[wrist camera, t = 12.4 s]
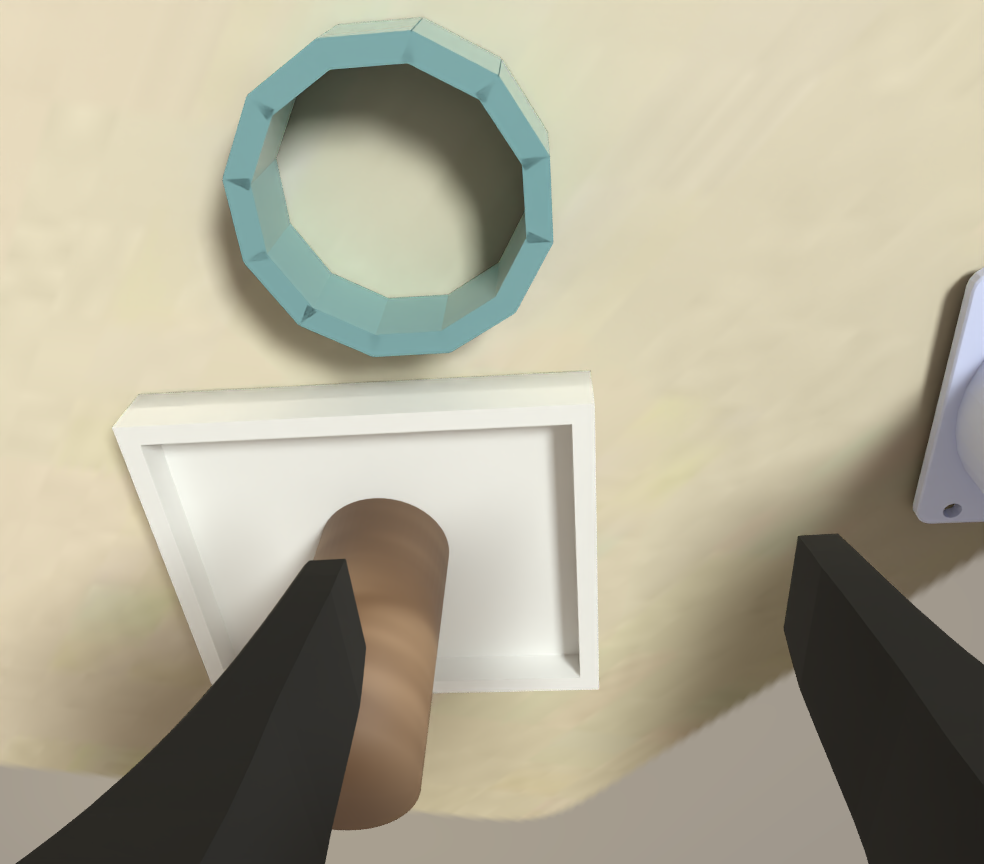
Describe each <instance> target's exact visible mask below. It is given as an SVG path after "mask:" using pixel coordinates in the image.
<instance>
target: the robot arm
mask: <svg viewBox="0 0 984 864" xmlns="http://www.w3.org/2000/svg"><path fill="white" fill-rule="evenodd" d="M954 503H955V505H954V506H953V507H951V508H949V509H945V507H947V506H948V505H950V504H954ZM944 509H945V510H944ZM913 511H914V512H915V514H916V516H917V517H918V519H919V520H920V521H922V522H924V523H930V524H933V523H959V522H984V268H982V269H980V270H979V271H977V272H975V273H974V275H973V276H972V277H971V278H970V279H969V281H968V283H967V285H966V289H965V293H964V297H963V302H962V306H961V310H960V314H959V318H958V322H957V326H956V330H955V334H954V338H953V342H952V347H951V351H950V355H949V359H948V363H947V367H946V371H945V375H944V379H943V383H942V387H941V392H940V396H939V400H938V404H937V408H936V412H935V416H934V420H933V424H932V428H931V432H930V436H929V441H928V445H927V449H926V453H925V457H924V461H923V465H922V469H921V473H920V477H919V481H918V486H917V490H916V494H915V498H914V502H913ZM784 632H785V636H786V640H787V644H788V648H789V652H790V655H791V659H792V663H793V667H794V670H795V674H796V677H797V681H798V684H799V688H800V691H801V693H802V695H803V698H804V700H805V703H806V706H807V708H808V710H809V713H810V716H811V718H812V721H813V723H814V725H815V728H816V730H817V733H818V735H819V738H820V740H821V743H822V745H823V747H824V750H825V752H826V755H827V757H828V759H829V762H830V764H831V767H832V769H833V772H834V774H835V776H836V779H837V781H838V784H839V786H840V789H841V791H842V793H843V796H844V798H845V801H846V803H847V805H848V808H849V810H850V812H851V815H852V818H853V820H854V822H855V825H856V828H857V831H858V834H859V836H860V839H861V842H862V845H863V847H864V850H865V853H866V856H867V860H868V863H869V864H984V665H983V664H982V663H981V662H980V661H978V660H977V659H976V658H975V657H973V656H972V655H971V654H970V653H968V652H967V651H966V650H965V649H963V648H962V647H961V646H960V645H959V644H957V643H956V642H955V641H954V640H953V639H952V638H950V637H949V636H948V635H947V634H946V633H945V632H943V631H942V630H941V629H940V628H939V627H938V626H937V625H935V624H934V623H933V622H932V621H931V620H930V619H929V618H928V617H926V616H925V615H924V614H923V613H922V612H921V611H920V610H918V609H917V608H916V607H915V606H914V605H913V604H912V603H911V602H910V601H909V600H908V599H906V598H905V597H904V596H903V595H902V594H901V593H900V592H899V591H898V590H897V589H896V588H895V587H894V586H893V585H891V584H890V583H889V582H888V581H887V580H886V579H885V578H884V577H883V576H882V575H881V574H880V573H879V572H878V571H877V570H876V569H875V568H874V567H872V566H871V565H870V564H869V563H868V562H867V561H866V560H865V559H864V558H863V557H862V556H861V555H860V554H859V553H858V552H857V551H856V550H855V549H854V548H853V547H851V546H850V545H849V544H848V543H847V542H846V541H845V540H844V539H843V538H842V537H841V536H840V535H839V534H825V535H805V536H798V540H797V547H796V553H795V559H794V566H793V572H792V579H791V585H790V591H789V598H788V604H787V610H786V617H785V623H784ZM365 656H366V644H365V639H364V635H363V631H362V626H361V622H360V618H359V613H358V609H357V605H356V601H355V596H354V592H353V588H352V583H351V579H350V575H349V571H348V566H347V562H346V559H329V560H309V561H308V562H307V563H306V564H305V565H304V566H303V568H302V569H301V570H300V572H299V573H298V575H297V576H296V577H295V579H294V580H293V582H292V583H291V584H290V586H289V587H288V589H287V590H286V591H285V593H284V594H283V596H282V597H281V598H280V600H279V601H278V603H277V604H276V605H275V607H274V608H273V609H272V611H271V612H270V614H269V615H268V616H267V618H266V619H265V620H264V622H263V623H262V624H261V626H260V627H259V628H258V630H257V631H256V632H255V633H254V635H253V636H252V637H251V639H250V640H249V641H248V642H247V644H246V645H245V646H244V648H243V649H242V650H241V651H240V653H239V654H238V655H237V657H236V658H235V659H234V660H233V662H232V663H231V664H230V665H229V666H228V668H227V669H226V670H225V671H224V672H223V673H222V675H221V676H220V677H219V678H218V679H217V680H216V682H215V683H214V684H213V685H212V686H211V687H210V689H209V690H208V691H207V692H206V693H205V694H204V696H203V697H202V698H201V699H200V700H199V701H198V703H197V704H196V705H195V706H194V707H193V708H192V709H191V710H190V711H189V712H188V714H187V715H186V716H185V717H184V718H183V719H182V720H181V721H180V722H179V723H178V724H177V725H176V726H175V727H174V728H173V729H172V730H171V732H170V733H169V734H168V735H167V736H166V737H165V738H164V739H163V740H162V741H161V742H160V743H159V744H158V745H157V746H156V747H155V748H154V749H153V750H152V751H151V752H150V753H148V754H147V755H146V756H145V757H144V758H143V759H142V760H141V761H140V762H139V763H138V764H137V765H136V766H135V767H133V768H132V769H131V770H130V771H129V772H128V773H127V774H126V775H125V776H124V777H123V778H121V779H120V780H119V781H118V782H117V783H116V784H115V785H113V786H112V787H111V788H110V789H109V790H108V791H107V792H105V793H104V794H103V795H102V796H101V797H100V798H99V799H98V800H96V801H95V802H94V803H93V804H92V805H91V806H90V807H88V808H87V809H86V810H85V811H84V812H82V813H81V814H80V815H79V816H77V817H76V818H75V819H73V820H72V821H71V822H70V823H68V824H67V825H66V826H65V827H63V828H62V829H61V830H60V831H59V832H57V833H56V834H55V835H53V836H52V837H51V838H49V839H48V840H47V841H46V842H44V843H43V844H41V845H40V846H39V847H37V848H36V849H35V850H33V851H32V852H31V853H29V854H28V855H27V856H25V857H24V858H23V859H21V860H20V861H19V862H17V863H16V864H325V860H326V855H327V850H328V845H329V839H330V834H331V831H332V826H333V822H334V818H335V814H336V809H337V805H338V801H339V796H340V792H341V788H342V784H343V779H344V775H345V771H346V766H347V762H348V758H349V754H350V749H351V745H352V740H353V736H354V731H355V727H356V723H357V718H358V714H359V709H360V703H361V694H362V686H363V677H364V666H365Z"/></svg>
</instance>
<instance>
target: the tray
mask: <svg viewBox="0 0 984 864" xmlns="http://www.w3.org/2000/svg"><path fill="white" fill-rule="evenodd" d="M112 429H113V432H114V434H115V437H116V439H117V442H118V444H119V447H120V450H121V452H122V455H123V457H124V460H125V463H126V465H127V468H128V470H129V473H130V475H131V478H132V481H133V483H134V486H135V488H136V491H137V493H138V496H139V499H140V501H141V504H142V506H143V509H144V511H145V514H146V517H147V519H148V522H149V524H150V527H151V530H152V532H153V535H154V537H155V540H156V542H157V545H158V548H159V550H160V553H161V555H162V558H163V560H164V563H165V566H166V568H167V571H168V573H169V576H170V579H171V581H172V584H173V586H174V589H175V591H176V594H177V597H178V599H179V602H180V604H181V607H182V609H183V612H184V615H185V617H186V620H187V622H188V625H189V628H190V630H191V633H192V635H193V638H194V640H195V643H196V646H197V648H198V651H199V653H200V656H201V658H202V661H203V664H204V666H205V669H206V671H207V674H208V676H209V679H210V682H211V684H212V685H213V684H214V683H215V682H216V680H217V679H218V678H219V677H220V676H221V675H222V673H223V672H224V671H225V670H226V669H227V668H228V666H229V665H230V664H231V663H232V662H233V660H234V659H235V658H236V657H237V655H238V654H239V653H240V651H241V650H242V649H243V648H244V646H245V645H246V644H247V642H248V641H249V640H250V639H251V637H252V636H253V635H254V633H255V632H256V631H257V630H258V628H259V627H260V626H261V624H262V623H263V622H264V620H265V619H266V618H267V616H268V615H269V614H270V612H271V611H272V609H273V608H274V607H275V605H276V604H277V603H278V601H279V600H280V598H281V597H282V596H283V594H284V593H285V591H286V590H287V589H288V587H289V586H290V584H291V583H292V582H293V580H294V579H295V577H296V576H297V575H298V573H299V572H300V570H301V569H302V568H303V566H304V565H305V564H306V563H307V562H308V561H309V560H313V559H314V556H315V553H316V550H317V547H318V543H319V540H320V537H321V534H322V531H323V529H324V526H325V524H326V523H327V521H328V520H329V519H330V517H331V516H332V515H333V514H334V513H335V512H336V511H338V510H339V509H341V508H342V507H344V506H346V505H348V504H350V503H353V502H356V501H359V500H364V499H371V498H386V499H394V500H398V501H402V502H405V503H408V504H411V505H413V506H415V507H417V508H419V509H421V510H422V511H424V512H426V513H427V514H428V515H429V516H431V517H432V518H433V519H434V520H435V521H436V522H437V523H438V525H439V526H440V527H441V528H442V530H443V532H444V534H445V536H446V538H447V541H448V545H449V560H448V568H447V576H446V585H445V593H444V601H443V609H442V618H441V626H440V634H439V642H438V651H437V659H436V667H435V675H434V684H433V692H432V693H469V692H510V691H551V690H591V689H599V654H598V588H597V523H596V457H595V402H594V395H593V387H592V380H591V372H590V371H571V372H552V373H533V374H514V375H495V376H476V377H457V378H438V379H419V380H401V381H382V382H363V383H344V384H325V385H306V386H287V387H268V388H249V389H230V390H211V391H192V392H173V393H155V394H138V395H137V397H136V398H135V399H134V401H133V402H132V403H131V404H130V406H129V407H128V408H127V409H126V411H125V412H124V413H123V414H122V416H121V417H120V418H119V419H118V421H117V422H116V423H115V425H114V426H113V427H112Z"/></svg>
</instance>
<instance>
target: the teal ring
mask: <svg viewBox="0 0 984 864" xmlns="http://www.w3.org/2000/svg"><path fill="white" fill-rule="evenodd" d="M405 63H408V64H410V65H412V66H414V67H416V68H418V69H420V70H422V71H424V72H426V73H428V74H430V75H432V76H434V77H436V78H437V79H439V80H441V81H443V82H445V83H447V84H449V85H451V86H453V87H455V88H457V89H459V90H461V91H463V92H465V93H467V94H469V95H471V96H473V97H475V98H477V99H479V100H480V102H481V103H482V105H483V106H484V108H485V109H486V111H487V112H488V114H489V115H490V117H491V118H492V120H493V121H494V123H495V125H496V126H497V128H498V129H499V131H500V132H501V134H502V135H503V137H504V138H505V140H506V141H507V143H508V144H509V146H510V147H511V149H512V151H513V152H514V154H515V155H516V157H517V158H518V160H519V161H520V163H521V164H522V172H523V188H524V205H525V211H524V213H523V215H522V217H521V219H520V221H519V223H518V225H517V227H516V229H515V231H514V233H513V235H512V237H511V239H510V241H509V243H508V245H507V247H506V249H505V251H504V253H503V255H502V257H501V259H500V261H499V262H498V263H497V264H495V265H494V266H492V267H491V268H489V269H488V270H486V271H484V272H483V273H481V274H480V275H478V276H477V277H475V278H474V279H472V280H470V281H469V282H467V283H466V284H464V285H463V286H461V287H460V288H458V289H456V290H455V291H453V292H452V293H450V294H449V295H435V296H418V297H402V298H387V297H384V296H382V295H380V294H378V293H375V292H373V291H371V290H369V289H366V288H364V287H362V286H360V285H357V284H355V283H353V282H350V281H348V280H346V279H344V278H341V277H339V276H337V275H335V274H332V273H331V272H330V271H329V270H328V268H327V267H326V266H325V265H324V263H323V262H322V261H321V260H320V259H319V257H318V256H317V255H316V254H315V253H314V251H313V250H312V249H311V248H310V247H309V245H308V244H307V243H306V242H305V241H304V239H303V238H302V237H301V236H300V234H299V233H298V232H297V231H296V230H295V228H294V227H293V226H292V225H291V224H290V220H289V215H288V211H287V206H286V202H285V197H284V192H283V188H282V183H281V178H280V174H279V169H278V165H277V160H276V158H277V155H278V152H279V148H280V145H281V142H282V139H283V136H284V133H285V130H286V127H287V124H288V121H289V118H290V115H291V111H292V108H293V105H294V102H295V99H296V96H298V95H299V94H300V93H301V92H303V91H304V90H305V89H306V88H308V87H309V86H310V85H311V84H313V83H314V82H315V81H316V80H318V79H319V78H320V77H321V76H322V75H324V74H325V73H326V72H327V71H329V70H331V69H343V68H356V67H368V66H380V65H392V64H405ZM223 184H224V188H225V192H226V196H227V200H228V203H229V207H230V211H231V215H232V219H233V223H234V227H235V231H236V235H237V239H238V243H239V247H240V251H241V255H242V259H243V262H244V264H245V265H246V266H247V267H248V268H249V269H250V270H251V272H252V273H253V274H254V275H255V276H256V277H257V278H258V280H259V281H260V282H261V283H262V284H263V285H264V286H265V288H266V289H267V290H268V291H269V292H270V293H271V294H272V295H273V297H274V298H275V299H276V300H277V301H278V302H279V303H280V305H281V306H282V307H283V308H284V309H285V310H286V311H287V313H288V314H289V315H290V316H291V317H292V318H293V319H294V321H295V322H296V323H297V324H298V325H299V324H300V325H299V326H301V327H304V328H306V329H308V330H311V331H313V332H315V333H318V334H320V335H322V336H325V337H327V338H329V339H332V340H334V341H336V342H339V343H341V344H344V345H346V346H348V347H351V348H353V349H355V350H358V351H360V352H362V353H365V354H367V355H369V356H373V357H382V356H400V355H419V354H437V353H450V352H452V351H454V350H456V349H457V348H459V347H460V346H462V345H464V344H465V343H467V342H469V341H470V340H472V339H474V338H475V337H477V336H478V335H480V334H482V333H483V332H485V331H487V330H488V329H490V328H491V327H493V326H495V325H496V324H498V323H500V322H501V321H503V320H505V319H506V318H508V317H509V316H511V315H513V314H514V313H515V312H516V311H517V309H518V307H519V305H520V304H521V302H522V300H523V298H524V296H525V294H526V292H527V291H528V289H529V287H530V285H531V283H532V281H533V279H534V278H535V276H536V274H537V272H538V270H539V268H540V266H541V264H542V263H543V261H544V259H545V257H546V255H547V253H548V251H549V250H550V248H551V246H552V244H553V223H552V199H551V175H550V154H549V142H548V132H547V130H546V128H545V127H544V125H543V123H542V122H541V120H540V119H539V117H538V115H537V114H536V112H535V111H534V109H533V107H532V106H531V104H530V103H529V101H528V99H527V98H526V96H525V95H524V93H523V91H522V90H521V88H520V87H519V85H518V83H517V82H516V80H515V79H514V77H513V75H512V74H511V72H510V71H509V69H508V68H507V66H506V64H505V63H504V61H503V60H502V59H501V58H500V57H498V56H496V55H495V54H493V53H491V52H489V51H487V50H485V49H483V48H481V47H479V46H477V45H475V44H474V43H472V42H470V41H468V40H466V39H464V38H462V37H460V36H458V35H456V34H454V33H453V32H451V31H449V30H447V29H445V28H443V27H441V26H439V25H437V24H435V23H433V22H432V21H430V20H428V19H426V18H423V17H419V18H408V19H396V20H384V21H373V22H361V23H349V24H338V25H336V26H335V27H333V28H332V29H330V30H328V31H327V32H325V33H324V34H322V35H321V36H319V37H318V38H316V39H315V40H314V41H312V42H311V43H310V44H309V45H307V46H306V47H305V48H304V49H303V50H301V51H300V52H299V53H298V54H297V55H295V56H294V57H293V58H292V59H290V60H289V61H288V62H287V63H286V64H284V65H283V66H282V67H281V68H280V69H278V70H277V71H276V72H275V73H273V74H272V75H271V76H270V77H269V78H267V79H266V80H265V81H264V82H263V83H261V84H260V85H259V86H258V87H257V88H255V89H254V90H253V91H252V92H250V93H249V94H248V96H247V97H246V100H245V104H244V107H243V110H242V114H241V117H240V121H239V124H238V127H237V131H236V134H235V138H234V141H233V145H232V148H231V151H230V155H229V158H228V162H227V165H226V168H225V172H224V175H223Z"/></svg>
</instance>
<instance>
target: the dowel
mask: <svg viewBox="0 0 984 864" xmlns="http://www.w3.org/2000/svg"><path fill="white" fill-rule="evenodd" d="M329 559H346V562H347V566H348V571H349V575H350V579H351V583H352V588H353V592H354V596H355V601H356V605H357V609H358V613H359V618H360V622H361V626H362V631H363V635H364V639H365V644H366V656H365V666H364V677H363V686H362V694H361V703H360V709H359V714H358V718H357V723H356V727H355V731H354V736H353V740H352V745H351V749H350V754H349V758H348V762H347V766H346V771H345V775H344V779H343V784H342V788H341V792H340V796H339V801H338V805H337V809H336V814H335V818H334V822H333V826H332V829H334V830H361V829H369V828H374V827H378V826H382V825H384V824H388V823H390V822H392V821H394V820H397V819H398V818H400V817H401V816H403V815H404V814H406V813H407V812H408V811H409V810H410V809H411V808H412V807H413V806H414V805H415V803H416V801H417V800H418V797H419V795H420V791H421V783H422V775H423V766H424V758H425V750H426V742H427V733H428V725H429V717H430V709H431V700H432V692H433V684H434V675H435V667H436V659H437V651H438V642H439V634H440V626H441V618H442V609H443V601H444V593H445V585H446V576H447V568H448V560H449V545H448V541H447V538H446V536H445V534H444V532H443V530H442V528H441V527H440V526H439V525H438V523H437V522H436V521H435V520H434V519H433V518H432V517H431V516H429V515H428V514H427V513H426V512H424V511H422V510H421V509H419V508H417V507H415V506H413V505H411V504H408V503H405V502H402V501H398V500H394V499H386V498H371V499H364V500H359V501H356V502H353V503H350V504H348V505H346V506H344V507H342V508H341V509H339V510H338V511H336V512H335V513H334V514H333V515H332V516H331V517H330V519H329V520H328V521H327V523H326V524H325V526H324V529H323V531H322V534H321V537H320V540H319V543H318V547H317V550H316V553H315V556H314V559H313V560H329Z"/></svg>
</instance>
